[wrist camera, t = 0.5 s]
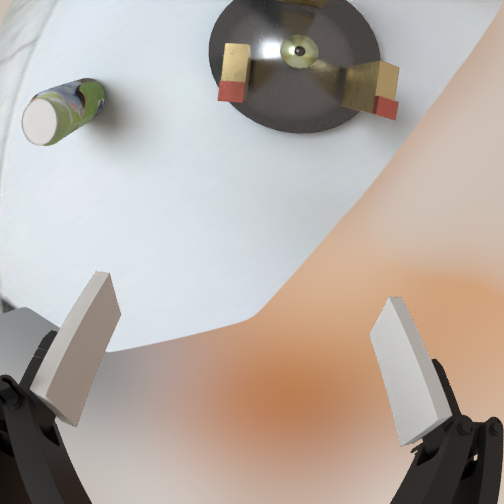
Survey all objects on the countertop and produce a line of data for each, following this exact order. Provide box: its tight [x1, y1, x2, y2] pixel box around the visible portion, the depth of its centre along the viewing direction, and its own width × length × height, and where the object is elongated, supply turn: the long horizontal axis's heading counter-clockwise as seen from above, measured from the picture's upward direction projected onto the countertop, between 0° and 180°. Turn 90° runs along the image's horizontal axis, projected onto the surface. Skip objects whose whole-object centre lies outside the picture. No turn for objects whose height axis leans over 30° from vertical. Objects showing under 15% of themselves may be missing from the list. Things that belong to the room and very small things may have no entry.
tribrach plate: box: [209, 0, 380, 133], centre depth 24 cm, size 19×19×3 cm
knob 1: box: [218, 43, 252, 103], centre depth 21 cm, size 5×2×10 cm, turn 174°
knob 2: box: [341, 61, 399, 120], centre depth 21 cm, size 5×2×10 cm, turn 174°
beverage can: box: [21, 78, 105, 146], centre depth 22 cm, size 6×7×12 cm
